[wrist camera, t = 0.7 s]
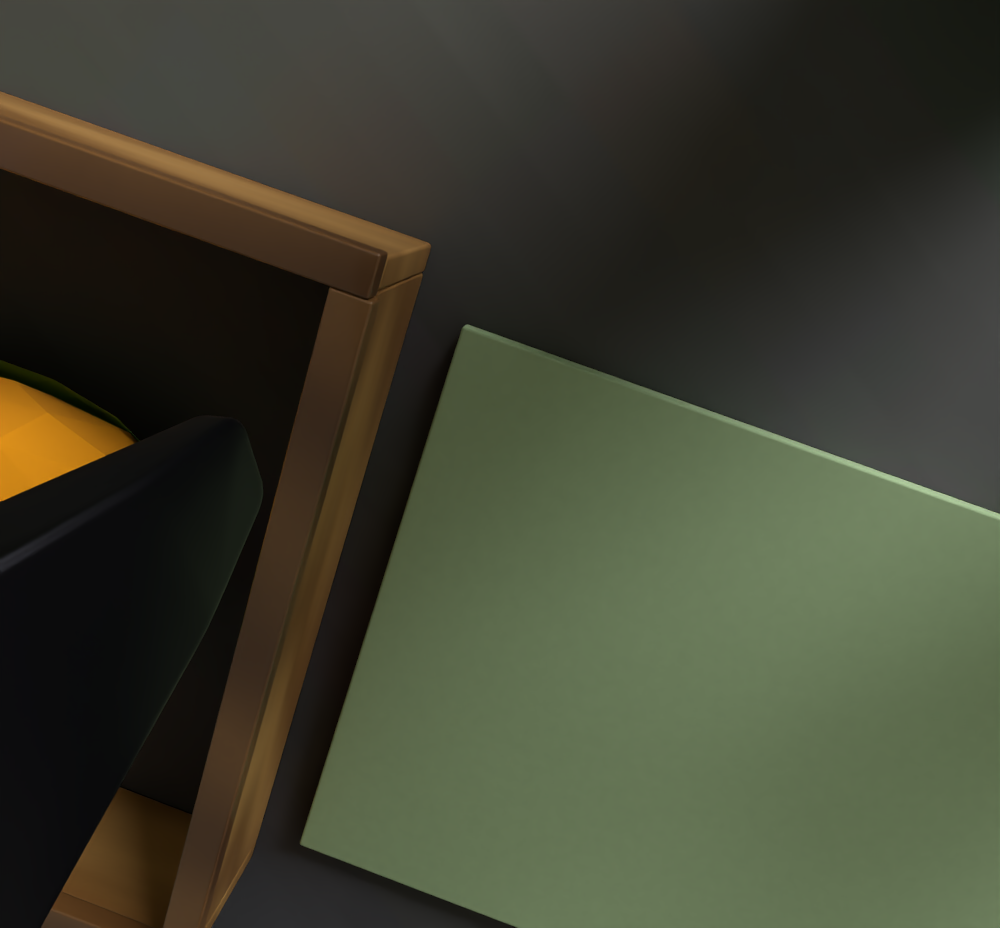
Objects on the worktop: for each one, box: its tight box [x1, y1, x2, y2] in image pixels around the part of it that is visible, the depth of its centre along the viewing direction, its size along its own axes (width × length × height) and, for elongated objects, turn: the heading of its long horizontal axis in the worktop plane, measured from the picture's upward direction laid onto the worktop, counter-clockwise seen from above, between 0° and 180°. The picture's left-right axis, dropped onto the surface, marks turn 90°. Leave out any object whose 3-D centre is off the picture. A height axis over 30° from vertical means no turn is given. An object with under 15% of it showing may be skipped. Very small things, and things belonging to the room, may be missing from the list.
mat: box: [300, 325, 1000, 928], centre depth 23 cm, size 16×24×1 cm, turn 72°
